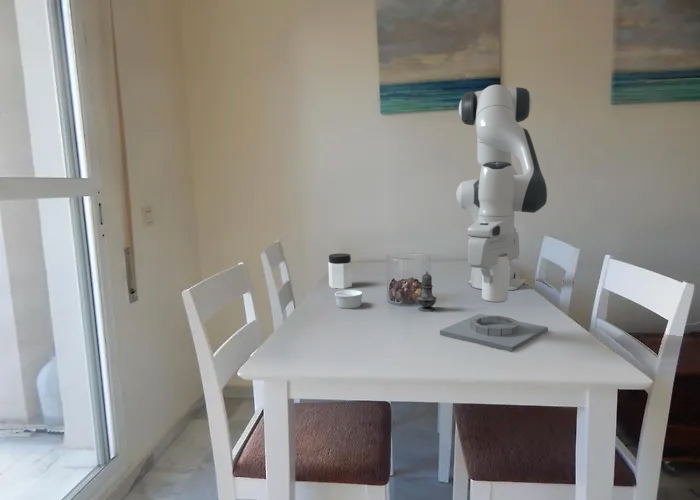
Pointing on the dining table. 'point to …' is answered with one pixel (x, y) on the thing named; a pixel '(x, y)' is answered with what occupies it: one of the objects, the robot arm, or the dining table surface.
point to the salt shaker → (427, 294)
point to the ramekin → (348, 299)
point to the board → (500, 342)
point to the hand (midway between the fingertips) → (494, 280)
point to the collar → (494, 331)
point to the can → (497, 282)
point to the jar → (340, 271)
